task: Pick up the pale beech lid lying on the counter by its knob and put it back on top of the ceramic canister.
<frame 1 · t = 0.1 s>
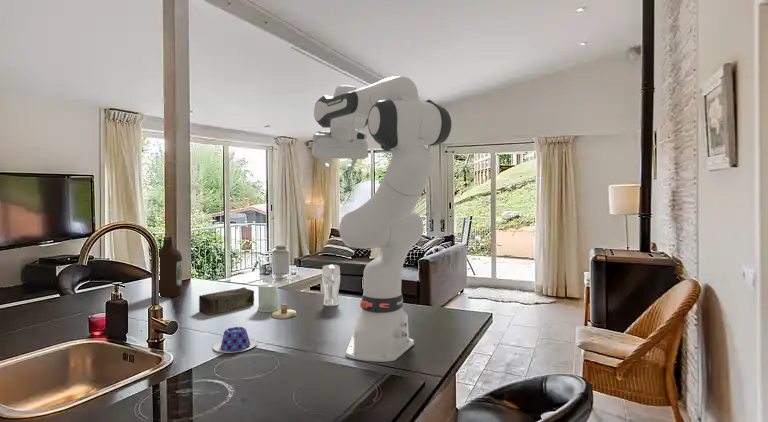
hand: (338, 169, 162), 52 cm above the counter, tool tilted 20°, fingers open, 8 cm apart
canister: (268, 309, 166), on the counter
purple patterned hat: (235, 348, 127), on the counter
beverage carton: (227, 309, 168), on the counter
beer glass: (331, 304, 173), on the counter
olive oil: (169, 295, 188), on the counter
lid: (284, 316, 159), on the counter
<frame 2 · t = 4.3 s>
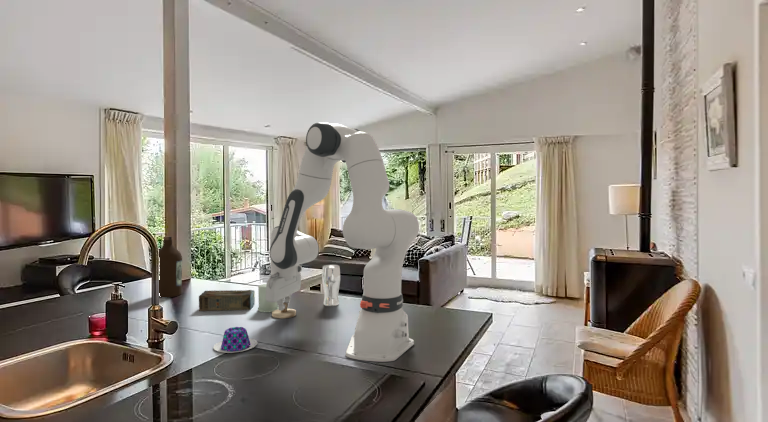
hand: (284, 308, 158), 2 cm above the counter, tool pointing down, fingers closed on lid, 2 cm apart
lid: (284, 315, 159), on the counter, touching gripper
when the fingers open (13 cm above the counter, at t = 8.2 s): lid drops 1 cm, resting on canister.
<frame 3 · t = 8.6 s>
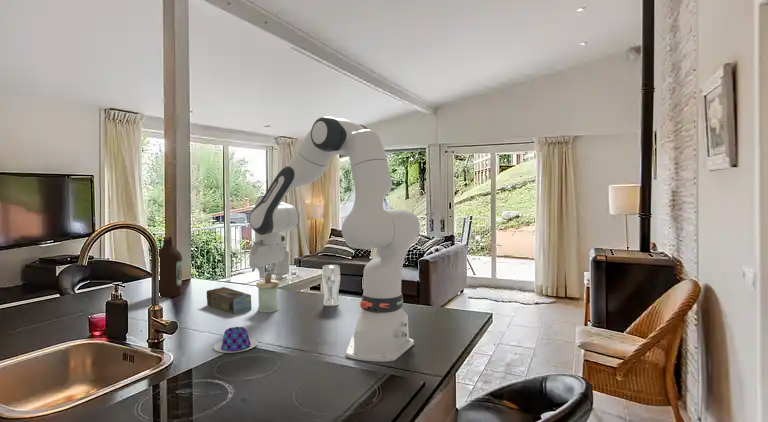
hand: (268, 275, 165), 13 cm above the counter, tool pointing down, fingers open, 6 cm apart
lid: (268, 285, 165), point 9 cm above the counter, touching canister
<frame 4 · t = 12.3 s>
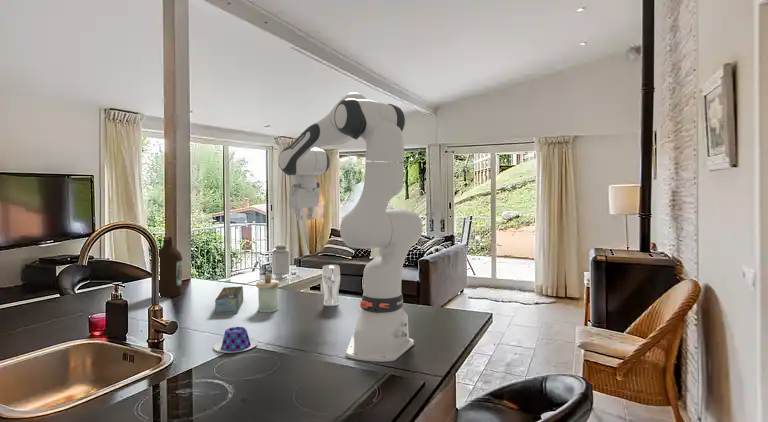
hand: (304, 219, 172), 33 cm above the counter, tool pointing down, fingers open, 8 cm apart
at the end: lid 0.0 cm from the canister (horizontally); lid point 9.0 cm above the counter; the gripper is holding nothing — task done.
